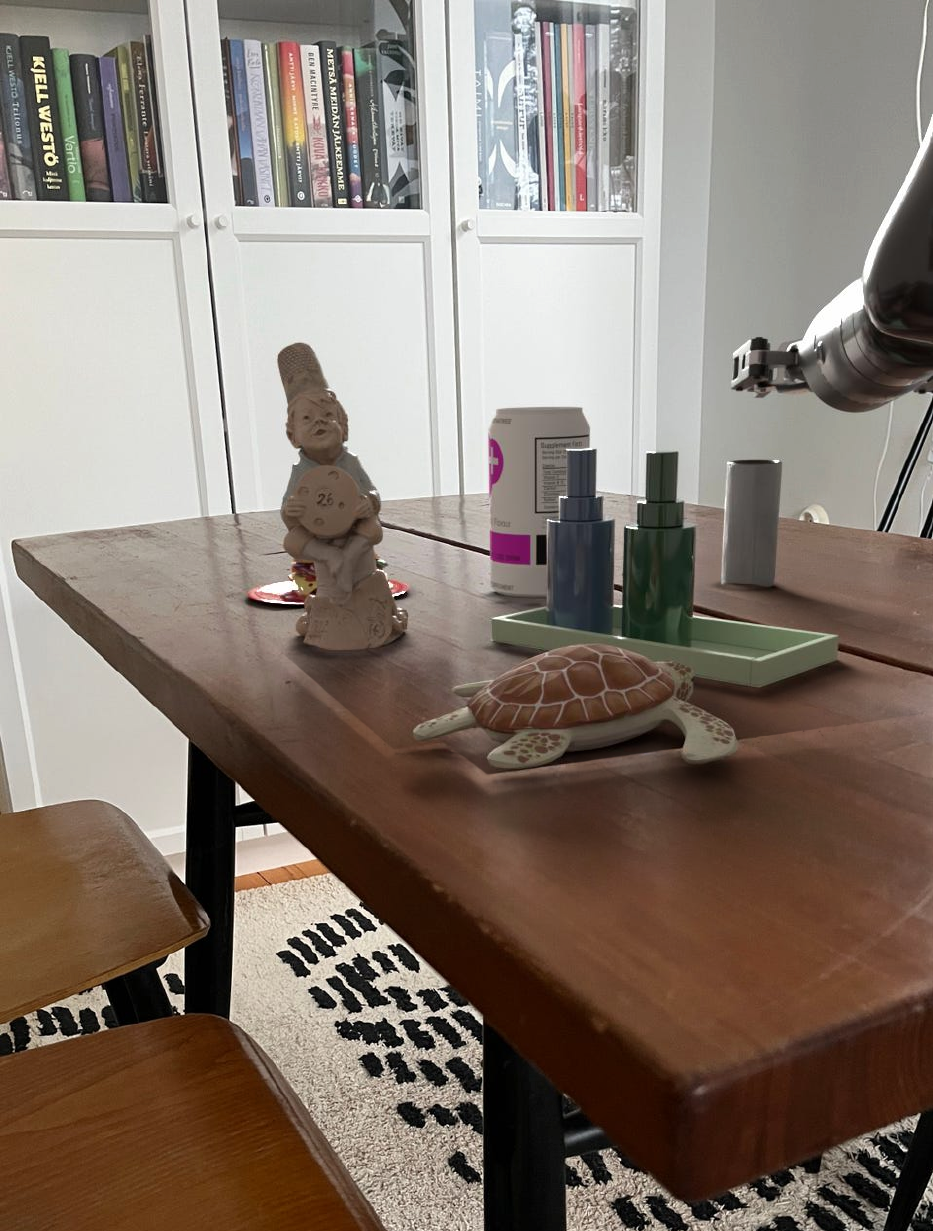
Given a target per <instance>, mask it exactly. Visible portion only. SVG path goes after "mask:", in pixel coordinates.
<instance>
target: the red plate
mask: <svg viewBox="0 0 933 1231" xmlns="http://www.w3.org/2000/svg"><path fill="white" fill-rule="evenodd" d="M374 553H375V560H376V567H377V570H383V571H384V569H385V568H386V567H388V566H389V564H388V562H386V561H385V560H383V559H380V558H381V556H380V555H379V554H378V552H377V551H376V550H375V549H374ZM289 567H290V569H291V574H289V575H287V578H288V579H289V580H284V581H278V582H277V581H276V582H272V583H267V584H263V585H259V586H257V587H254V588H252V589H250V590H249V591H248V592H247V597H249V598H251V599H253V600H256V601H260V602H265V603H272V604H280V605H281V604H282V605H304V601H305V599H306V597H307V596H308V595H311V596H315V595H316V592H317V587H316V586H317V583H316V578H317V577H316V572H315V566H314V561H313V562H312V561H308V560H303V559H295V558H292V561H291V563H289ZM384 574H385V577H386V580H387V581H388V582H389V584H390V588H391V591H392V594H393V597H395V596H399V595H401V594H404V593H406V592H407V591H408V590H410V586H409V584H407V583H405V582H403V581H399V580H396V579H395V580H394V579H390V578H389V577H388V574H387V572H384Z"/></svg>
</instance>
